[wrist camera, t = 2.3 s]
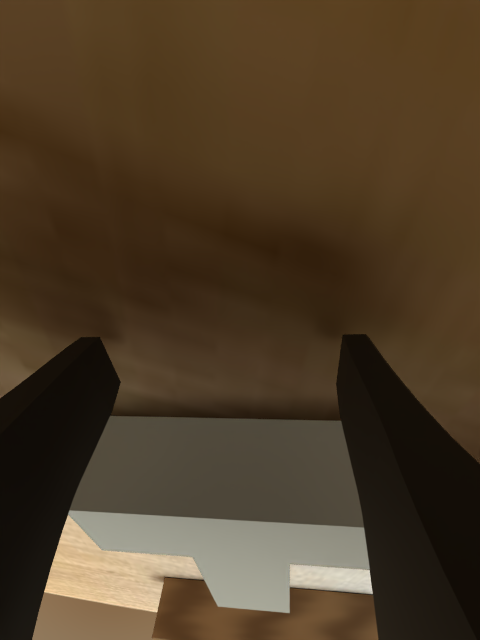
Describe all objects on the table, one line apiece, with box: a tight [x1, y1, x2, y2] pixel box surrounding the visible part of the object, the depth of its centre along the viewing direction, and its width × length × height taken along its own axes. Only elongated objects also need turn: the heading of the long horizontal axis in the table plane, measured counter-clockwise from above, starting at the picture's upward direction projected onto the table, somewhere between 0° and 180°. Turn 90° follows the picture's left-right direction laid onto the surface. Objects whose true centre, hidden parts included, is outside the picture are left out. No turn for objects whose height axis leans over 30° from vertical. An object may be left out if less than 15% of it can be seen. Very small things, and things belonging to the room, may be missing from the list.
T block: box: [68, 416, 370, 613], centre depth 17 cm, size 12×12×4 cm
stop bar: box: [152, 578, 378, 640], centre depth 28 cm, size 18×2×4 cm, turn 95°
